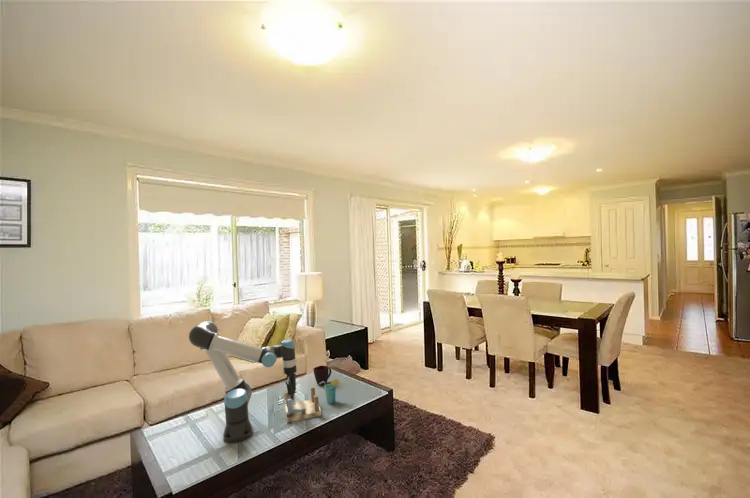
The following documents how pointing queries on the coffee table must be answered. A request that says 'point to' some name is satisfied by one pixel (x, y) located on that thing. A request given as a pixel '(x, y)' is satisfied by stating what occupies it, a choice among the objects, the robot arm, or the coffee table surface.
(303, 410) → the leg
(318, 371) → the mug
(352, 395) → the coffee table surface
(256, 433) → the coffee table surface
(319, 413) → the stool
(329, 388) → the cup
